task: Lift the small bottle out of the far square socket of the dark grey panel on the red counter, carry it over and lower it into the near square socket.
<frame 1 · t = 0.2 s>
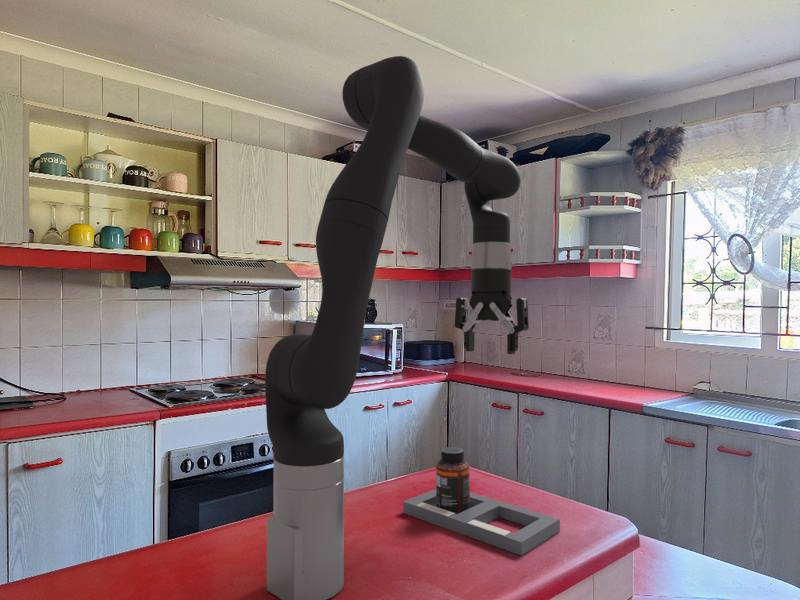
hand: (490, 352, 105), 28 cm above the counter, tool pointing down, fingers open, 8 cm apart
socket panel: (478, 521, 95), on the counter
supplement bottle: (452, 514, 98), resting in socket panel
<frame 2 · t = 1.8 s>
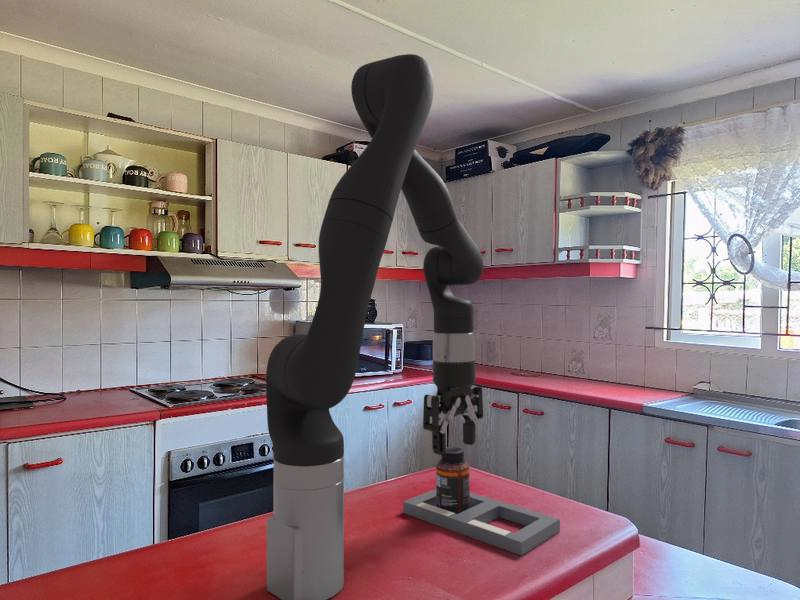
hand: (454, 448, 98), 11 cm above the counter, tool pointing down, fingers open, 8 cm apart
nothing on the counter moved.
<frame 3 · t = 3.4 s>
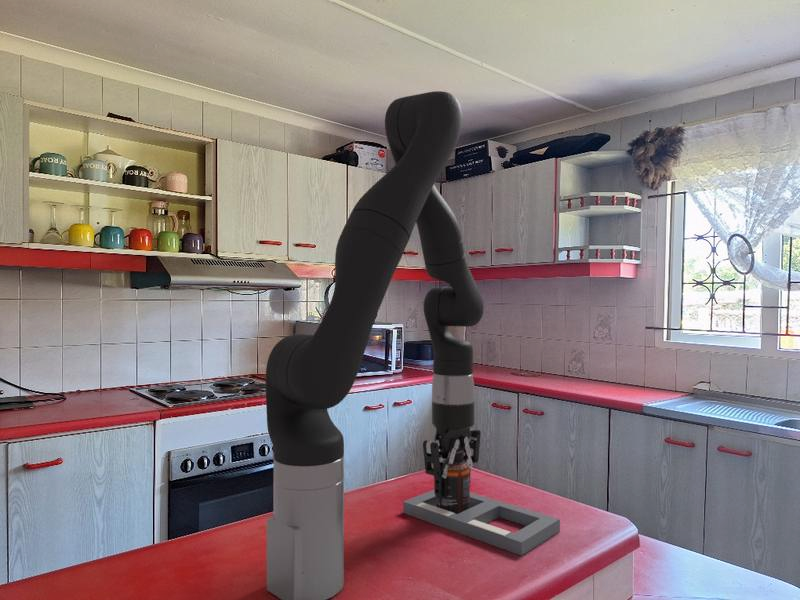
hand: (452, 492, 98), 4 cm above the counter, tool pointing down, fingers closed on supplement bottle, 6 cm apart
supplement bottle: (452, 514, 98), resting in socket panel, touching gripper
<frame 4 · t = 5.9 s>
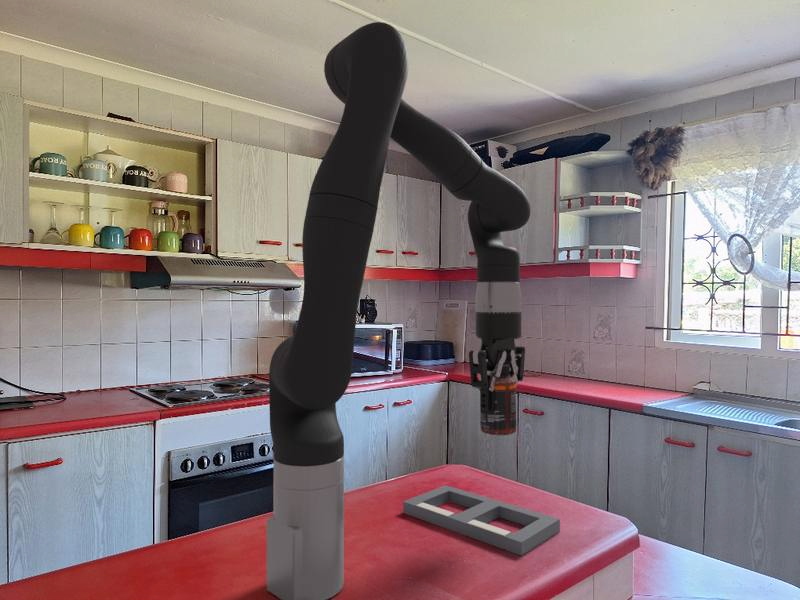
hand: (498, 410, 92), 20 cm above the counter, tool pointing down, fingers closed on supplement bottle, 6 cm apart
supplement bottle: (498, 433, 92), point 16 cm above the counter, touching gripper
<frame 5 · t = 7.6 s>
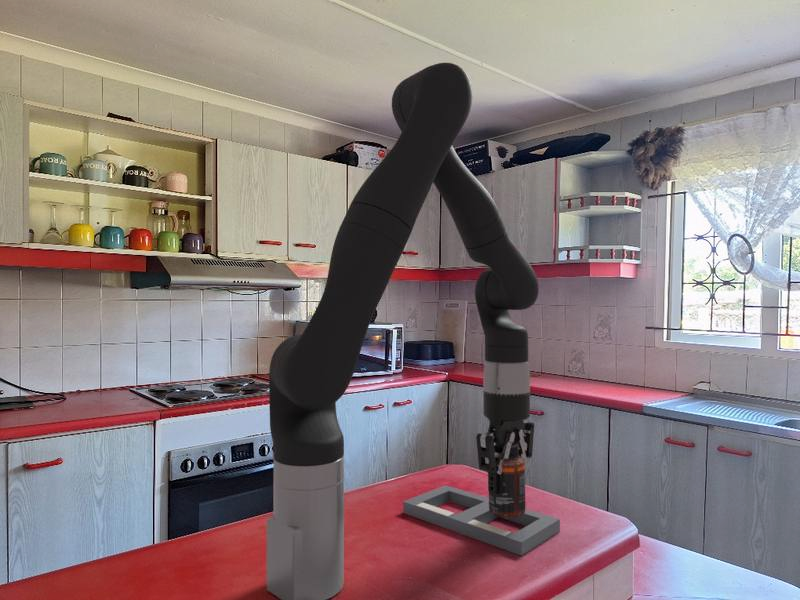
hand: (506, 490, 91), 7 cm above the counter, tool pointing down, fingers closed on supplement bottle, 6 cm apart
supplement bottle: (506, 513, 91), point 3 cm above the counter, touching gripper
when the fingers open (5 cm above the counter, at t = 8.7 s): supplement bottle drops 1 cm, resting in socket panel.
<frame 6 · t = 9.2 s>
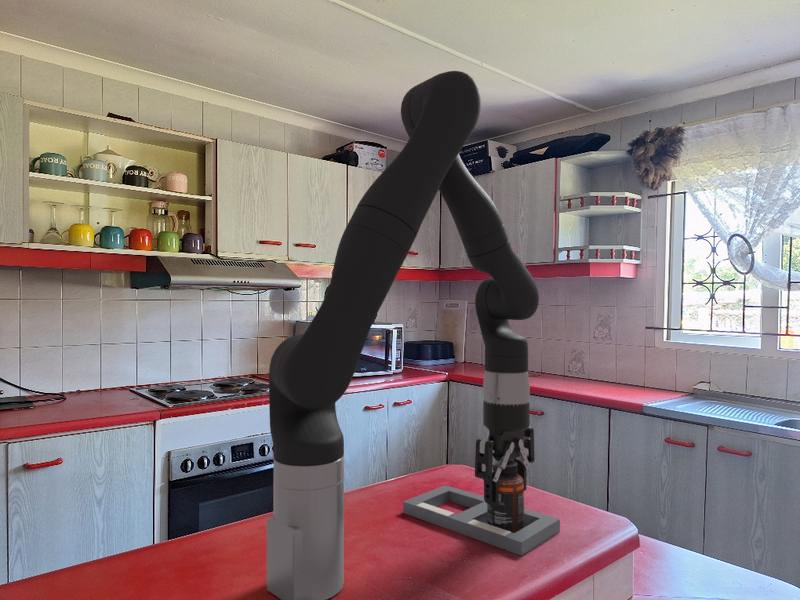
hand: (506, 496, 91), 6 cm above the counter, tool pointing down, fingers open, 8 cm apart
supplement bottle: (505, 532, 91), resting in socket panel
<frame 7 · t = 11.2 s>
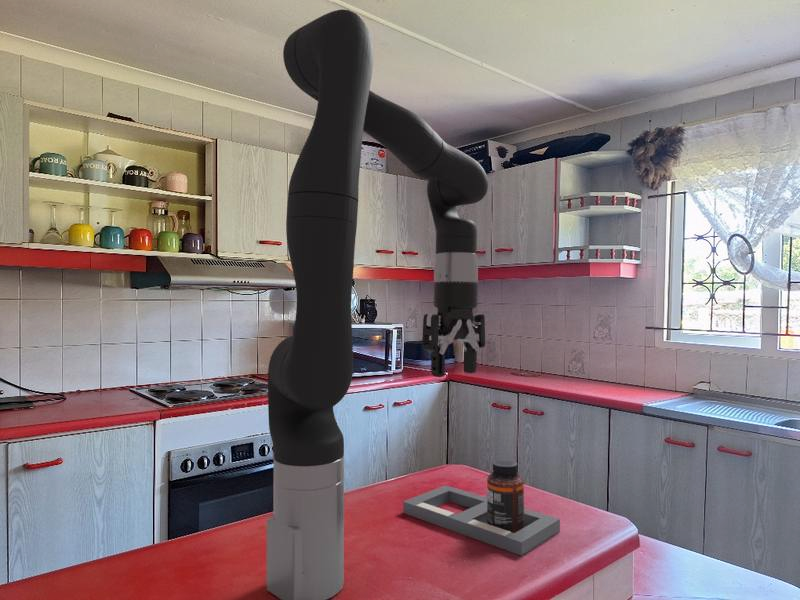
hand: (454, 374, 95), 25 cm above the counter, tool pointing down, fingers open, 8 cm apart
nothing on the counter moved.
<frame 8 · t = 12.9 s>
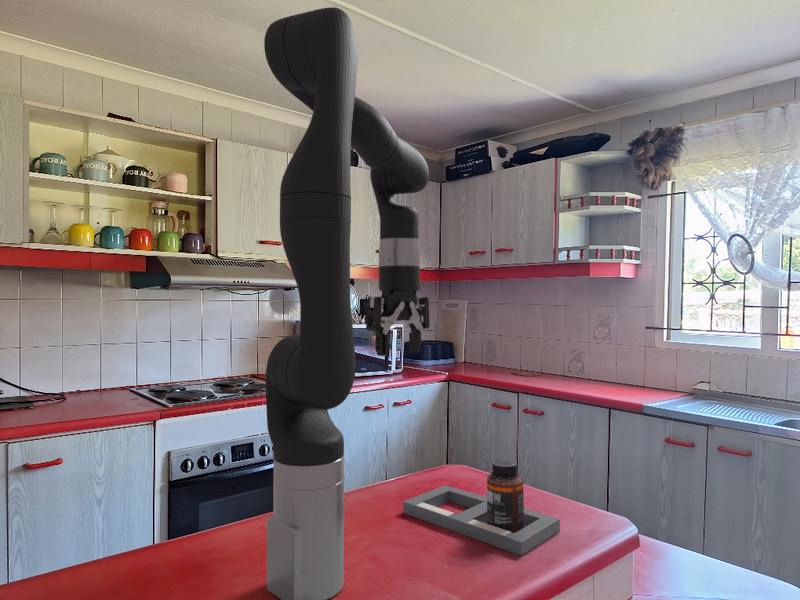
hand: (399, 353, 100), 28 cm above the counter, tool pointing down, fingers open, 8 cm apart
nothing on the counter moved.
at the end: supplement bottle 0.2 cm from the target spot on the socket panel, point 0.0 cm above the socket panel's base; supplement bottle tilted 0°; the gripper is holding nothing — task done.
